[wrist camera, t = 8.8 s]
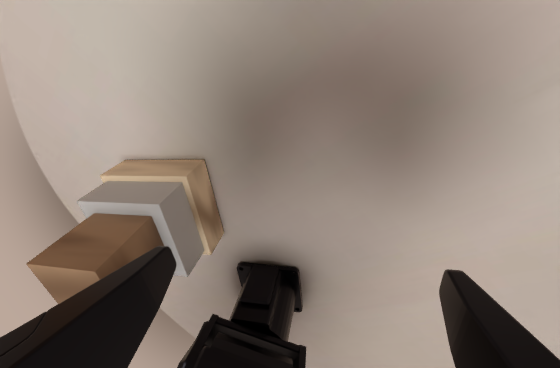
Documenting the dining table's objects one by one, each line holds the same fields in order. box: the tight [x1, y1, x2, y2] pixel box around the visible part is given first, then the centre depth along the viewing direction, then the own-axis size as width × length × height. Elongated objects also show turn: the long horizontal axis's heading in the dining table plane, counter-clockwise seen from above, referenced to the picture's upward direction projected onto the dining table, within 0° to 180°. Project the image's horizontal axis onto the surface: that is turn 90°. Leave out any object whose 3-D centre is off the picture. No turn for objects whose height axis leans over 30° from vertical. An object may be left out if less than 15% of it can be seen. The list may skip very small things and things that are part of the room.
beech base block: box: [100, 160, 224, 255], centre depth 24 cm, size 8×8×3 cm
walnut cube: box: [27, 213, 164, 304], centre depth 18 cm, size 5×5×5 cm
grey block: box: [77, 181, 204, 277], centre depth 22 cm, size 7×7×3 cm
